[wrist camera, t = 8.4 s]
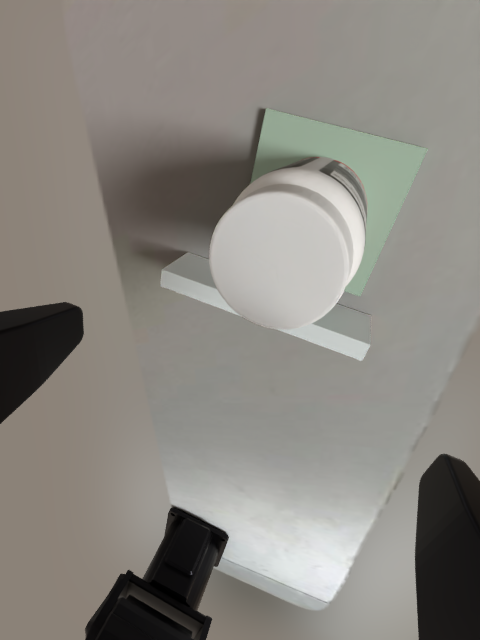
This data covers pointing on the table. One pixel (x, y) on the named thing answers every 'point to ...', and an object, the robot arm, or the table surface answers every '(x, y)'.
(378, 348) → the table surface
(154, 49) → the table surface
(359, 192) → the pill bottle
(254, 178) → the coaster
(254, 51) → the table surface
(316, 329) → the acrylic wall
